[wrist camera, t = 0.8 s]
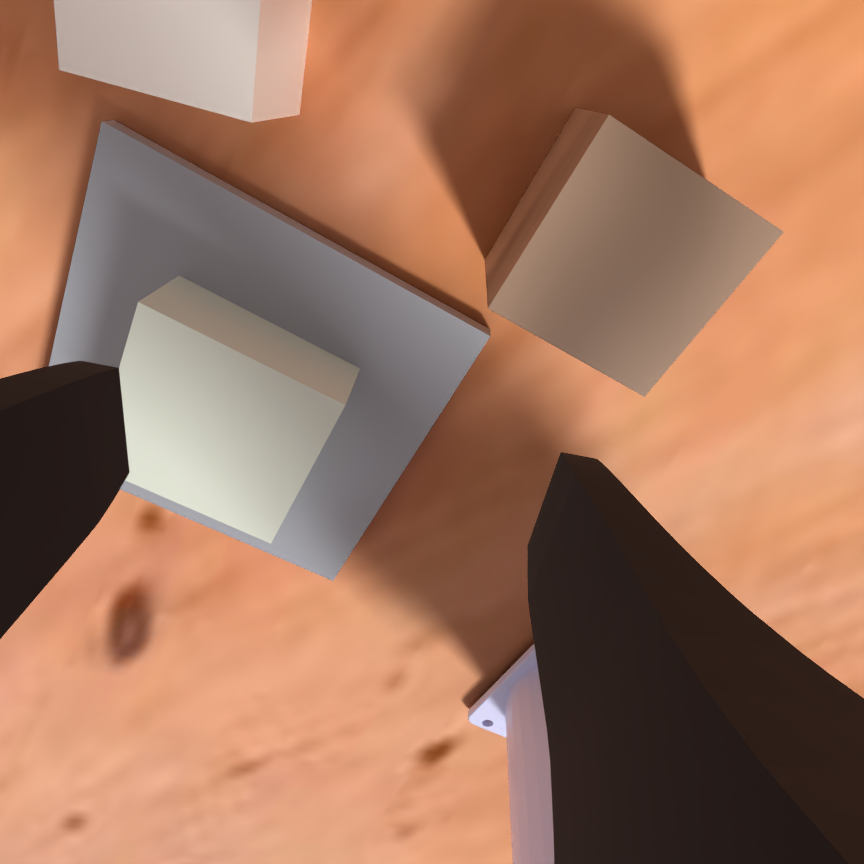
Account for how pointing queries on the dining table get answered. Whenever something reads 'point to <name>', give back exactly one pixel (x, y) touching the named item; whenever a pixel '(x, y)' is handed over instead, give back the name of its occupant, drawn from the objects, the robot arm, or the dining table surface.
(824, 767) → the robot arm
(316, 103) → the dining table surface
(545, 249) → the walnut cube
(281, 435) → the foundation brick
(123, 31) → the cream block
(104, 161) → the build board
